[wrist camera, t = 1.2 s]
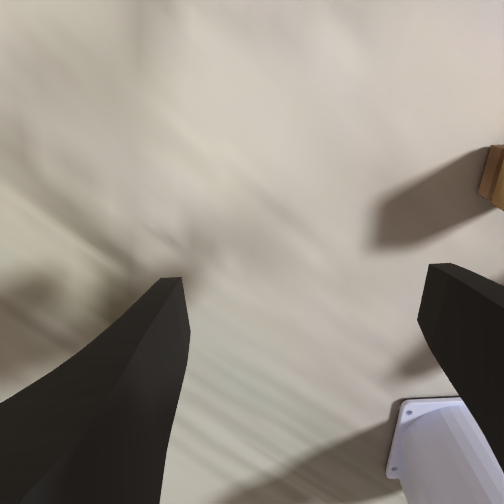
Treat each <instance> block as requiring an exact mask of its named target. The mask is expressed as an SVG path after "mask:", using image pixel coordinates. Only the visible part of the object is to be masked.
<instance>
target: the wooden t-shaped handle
mask: <svg viewBox="0 0 504 504" xmlns="http://www.w3.org/2000/svg"><path fill="white" fill-rule="evenodd" d="M478 194H479V195H481V196H483V197H485V198H486V199H492V200H491V204H493V205H494V206H496V207H498V208H500V209H501V210H503V211H504V145H491V147H490V151H489V154H488V158H487V162H486V165H485V169H484V173H483V177H482V180H481V184H480V188H479V191H478Z"/></svg>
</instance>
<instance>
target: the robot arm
mask: <svg viewBox="0 0 504 504" xmlns="http://www.w3.org/2000/svg"><path fill="white" fill-rule="evenodd" d="M417 321H418V324H419V326H420V328H421V331H422V333H423V335H424V337H425V339H426V342H427V344H428V346H429V348H430V350H431V352H432V353H433V355H434V357H435V358H436V360H437V361H438V363H439V365H440V366H441V368H442V369H443V371H444V372H445V374H446V376H447V377H448V379H449V380H450V382H451V383H452V385H453V386H454V388H455V390H456V391H457V393H458V394H459V396H460V397H455V398H434V399H413V400H405V401H404V402H402V404H401V408H400V412H399V416H398V420H397V425H396V429H395V433H394V438H393V442H392V446H391V451H390V455H389V459H388V463H387V468H386V472H385V473H386V476H387V478H389V479H399V480H400V483H401V486H402V488H403V491H404V494H405V497H406V499H407V502H408V504H504V286H502V285H500V284H498V283H496V282H494V281H492V280H489V279H487V278H485V277H483V276H481V275H479V274H476V273H474V272H472V271H470V270H467V269H465V268H463V267H460V266H457V265H455V264H452V263H440V264H429V267H428V272H427V276H426V281H425V286H424V290H423V295H422V300H421V304H420V309H419V313H418V318H417ZM190 333H191V331H190V325H189V319H188V313H187V307H186V301H185V295H184V289H183V283H182V277H175V278H160V279H159V280H158V281H157V282H156V283H155V284H154V285H153V286H152V287H151V288H150V289H149V290H148V291H147V292H146V293H145V294H144V295H143V296H142V297H141V298H140V299H139V300H138V301H137V302H136V303H135V304H134V305H132V306H131V307H130V308H129V309H128V310H127V311H126V312H125V313H124V314H123V315H122V316H121V317H120V318H119V319H118V320H116V321H115V322H114V323H113V324H112V325H111V326H109V327H108V328H107V329H106V330H105V331H104V332H103V333H101V334H100V335H99V336H98V337H97V338H96V339H94V340H93V341H92V342H91V343H90V344H88V345H87V346H86V347H84V348H83V349H82V350H81V351H79V352H78V353H77V354H75V355H74V356H73V357H71V358H70V359H68V360H67V361H66V362H64V363H63V364H61V365H60V366H59V367H57V368H56V369H54V370H53V371H51V372H50V373H48V374H47V375H45V376H44V377H42V378H40V379H39V380H37V381H36V382H34V383H32V384H31V385H29V386H28V387H26V388H25V389H23V390H21V391H20V392H18V393H17V394H15V395H13V396H12V397H10V398H9V399H7V400H5V401H3V402H2V403H0V504H159V503H160V495H161V488H162V480H163V473H164V466H165V459H166V452H167V447H168V442H169V437H170V433H171V429H172V424H173V420H174V416H175V412H176V408H177V404H178V400H179V396H180V392H181V387H182V383H183V379H184V375H185V370H186V366H187V361H188V352H189V343H190Z"/></svg>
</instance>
